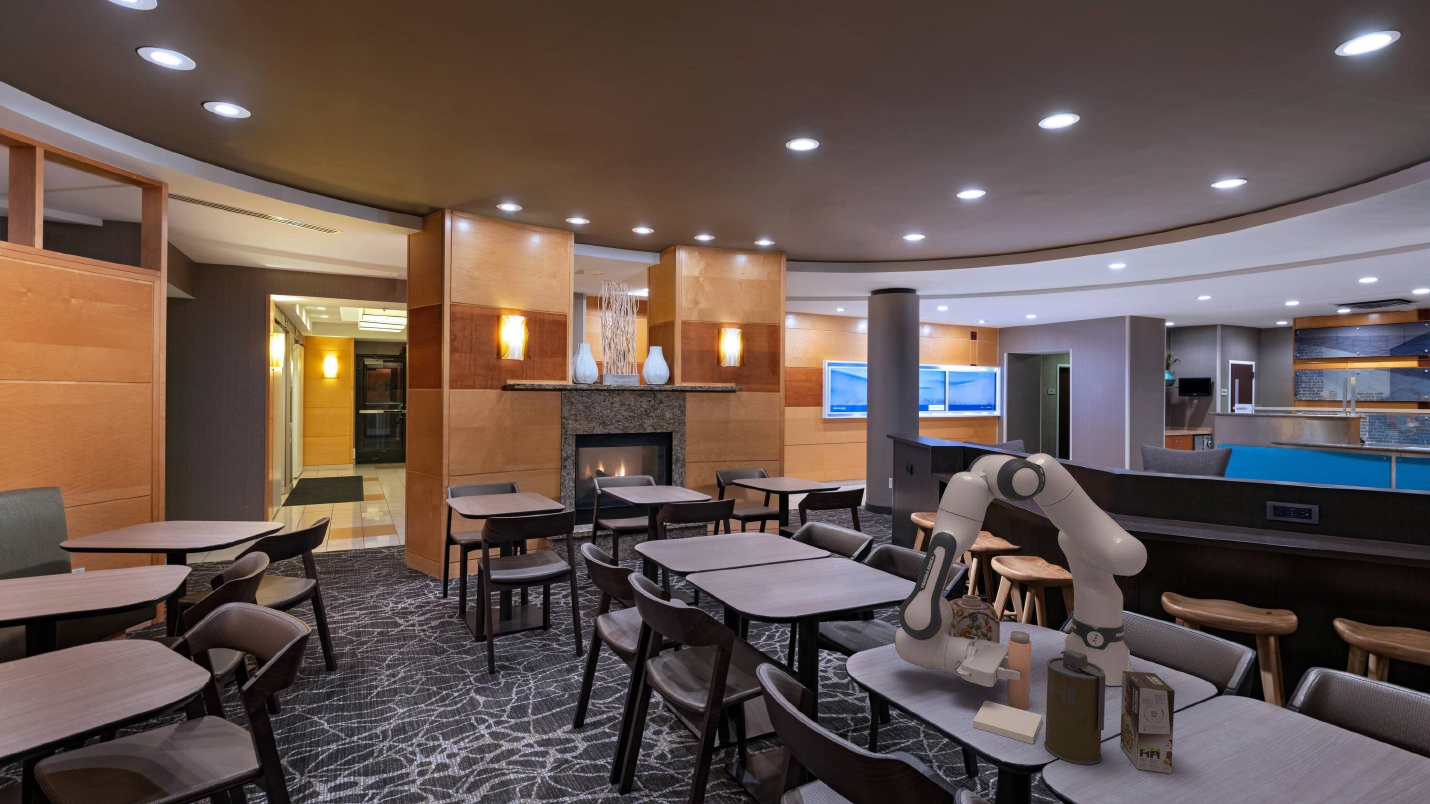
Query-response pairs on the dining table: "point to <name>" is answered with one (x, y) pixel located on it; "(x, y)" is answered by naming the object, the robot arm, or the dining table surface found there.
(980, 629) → the decorative jar
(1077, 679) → the canister
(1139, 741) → the coffee box
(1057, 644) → the dining table surface
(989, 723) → the board
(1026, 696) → the shaker
